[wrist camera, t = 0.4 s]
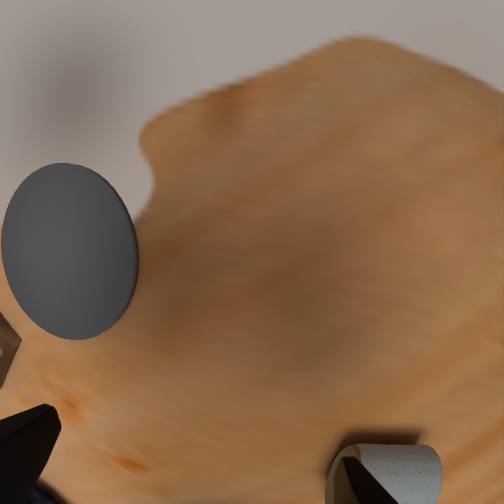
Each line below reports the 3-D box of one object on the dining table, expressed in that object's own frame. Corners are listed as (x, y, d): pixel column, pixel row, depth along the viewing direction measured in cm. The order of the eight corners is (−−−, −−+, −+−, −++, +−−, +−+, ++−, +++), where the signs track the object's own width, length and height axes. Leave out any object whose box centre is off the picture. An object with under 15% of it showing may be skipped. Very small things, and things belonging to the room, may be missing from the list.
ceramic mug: (345, 425, 23) (362, 492, 16) (425, 428, 23) (456, 484, 15) (307, 497, 25) (310, 556, 17) (379, 498, 25) (393, 551, 17)
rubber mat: (132, 356, 23) (128, 360, 23) (8, 311, 24) (3, 313, 23) (150, 172, 21) (146, 171, 20) (14, 160, 22) (8, 159, 21)
